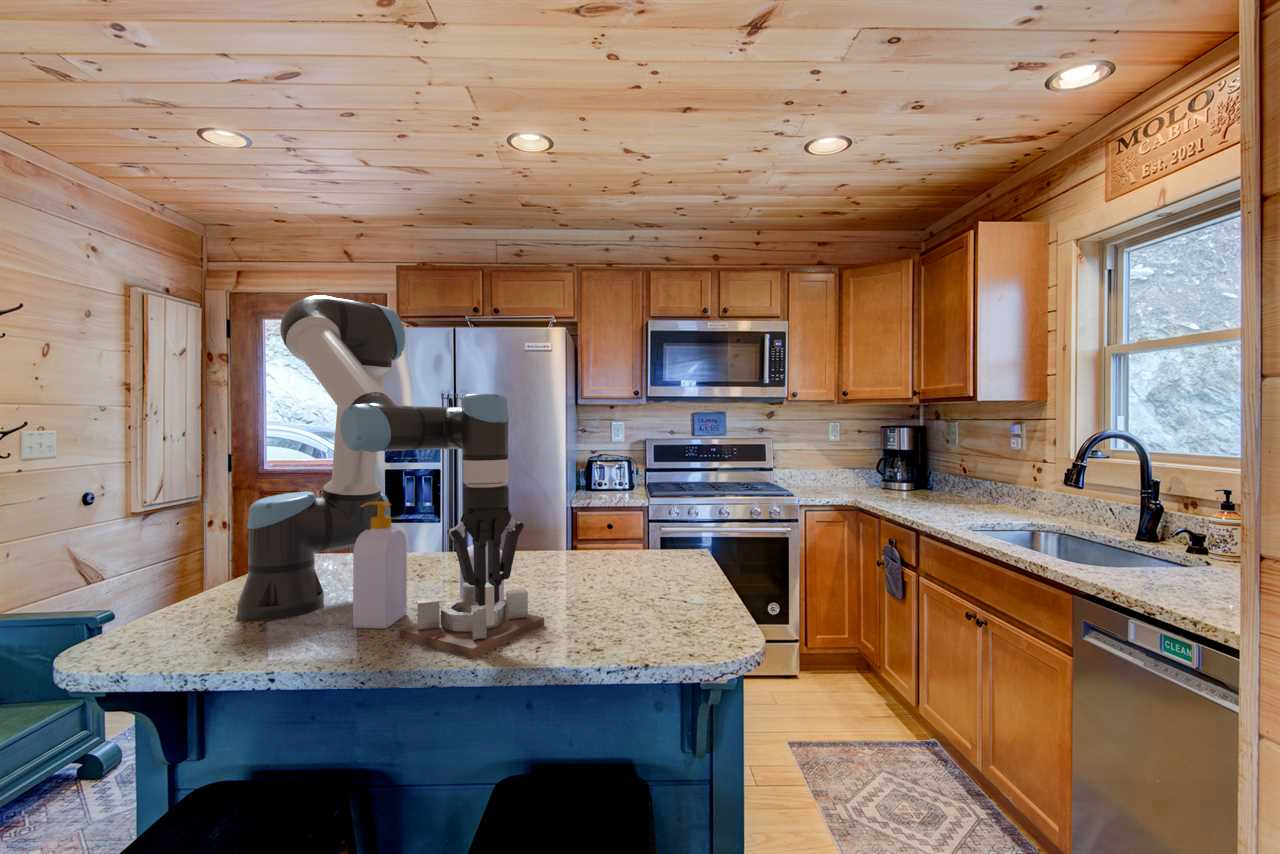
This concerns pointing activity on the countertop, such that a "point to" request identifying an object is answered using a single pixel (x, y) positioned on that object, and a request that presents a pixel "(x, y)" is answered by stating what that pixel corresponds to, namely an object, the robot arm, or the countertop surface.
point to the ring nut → (471, 614)
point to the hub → (463, 639)
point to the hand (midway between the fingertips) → (487, 623)
